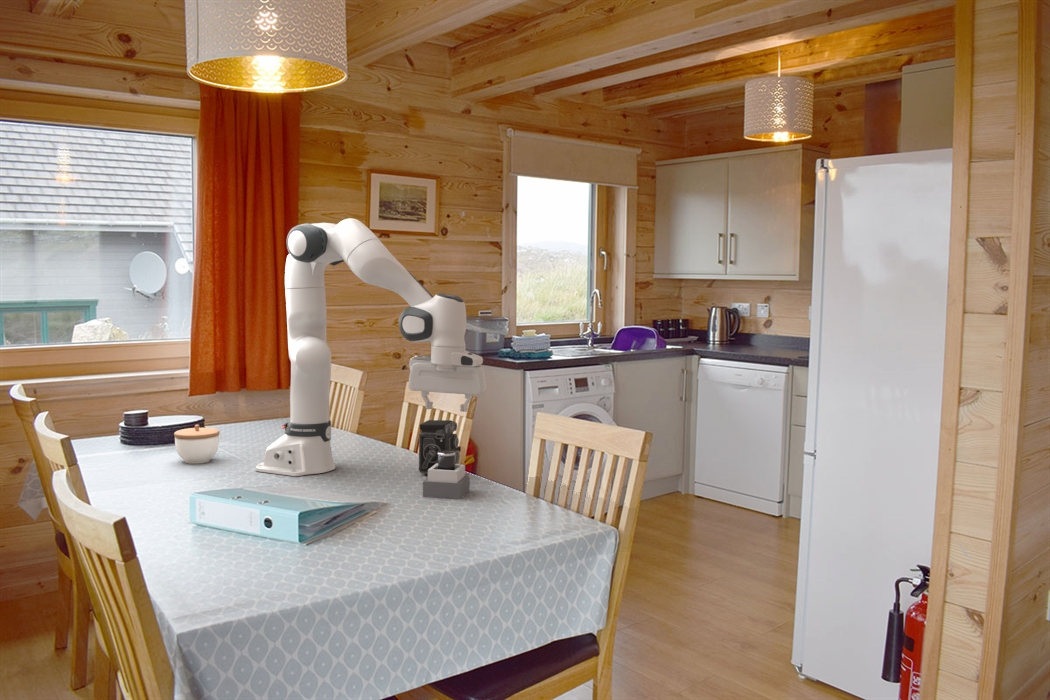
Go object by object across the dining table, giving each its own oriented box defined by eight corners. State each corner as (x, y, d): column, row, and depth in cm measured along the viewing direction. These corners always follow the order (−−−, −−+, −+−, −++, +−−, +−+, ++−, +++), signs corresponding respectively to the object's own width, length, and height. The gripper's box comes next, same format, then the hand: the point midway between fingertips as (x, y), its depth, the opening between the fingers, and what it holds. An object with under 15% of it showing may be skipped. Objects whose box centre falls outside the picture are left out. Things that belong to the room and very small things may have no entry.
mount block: (422, 496, 206) (422, 470, 205) (433, 488, 215) (433, 462, 214) (460, 499, 204) (460, 472, 204) (469, 490, 213) (469, 464, 212)
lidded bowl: (165, 463, 238) (164, 426, 237) (197, 455, 250) (196, 420, 249) (198, 467, 233) (197, 430, 232) (229, 459, 245) (228, 423, 244)
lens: (435, 479, 208) (435, 453, 207) (440, 475, 212) (440, 449, 212) (452, 480, 207) (452, 454, 206) (457, 476, 211) (457, 450, 211)
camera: (452, 478, 225) (453, 426, 224) (417, 476, 228) (417, 424, 226) (462, 470, 236) (463, 419, 234) (428, 468, 238) (429, 418, 236)
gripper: (405, 355, 205) (404, 409, 206) (482, 360, 202) (480, 414, 203) (413, 353, 212) (412, 405, 213) (488, 358, 208) (486, 411, 209)
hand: (446, 410), depth 208 cm, fingers open, 8 cm apart
